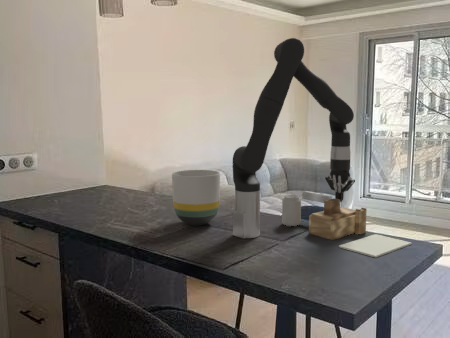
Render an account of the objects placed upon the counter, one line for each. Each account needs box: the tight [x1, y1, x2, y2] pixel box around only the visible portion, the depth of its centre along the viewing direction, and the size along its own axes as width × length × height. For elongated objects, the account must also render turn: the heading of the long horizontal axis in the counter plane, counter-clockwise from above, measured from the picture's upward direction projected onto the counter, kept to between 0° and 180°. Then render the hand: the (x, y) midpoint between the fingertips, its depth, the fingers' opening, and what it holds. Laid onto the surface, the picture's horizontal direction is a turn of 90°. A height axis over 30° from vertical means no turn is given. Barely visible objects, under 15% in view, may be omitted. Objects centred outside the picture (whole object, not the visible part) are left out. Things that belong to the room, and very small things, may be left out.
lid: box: [310, 198, 356, 221], centre depth 165 cm, size 18×9×7 cm, turn 129°
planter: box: [171, 169, 221, 226], centre depth 179 cm, size 20×20×21 cm
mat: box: [338, 233, 413, 259], centre depth 150 cm, size 22×14×1 cm, turn 129°
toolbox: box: [308, 207, 368, 241], centre depth 166 cm, size 18×15×10 cm
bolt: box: [301, 190, 333, 204], centre depth 180 cm, size 2×14×3 cm, turn 39°
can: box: [281, 194, 302, 227], centre depth 178 cm, size 8×8×12 cm
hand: (339, 201), depth 172 cm, fingers closed
